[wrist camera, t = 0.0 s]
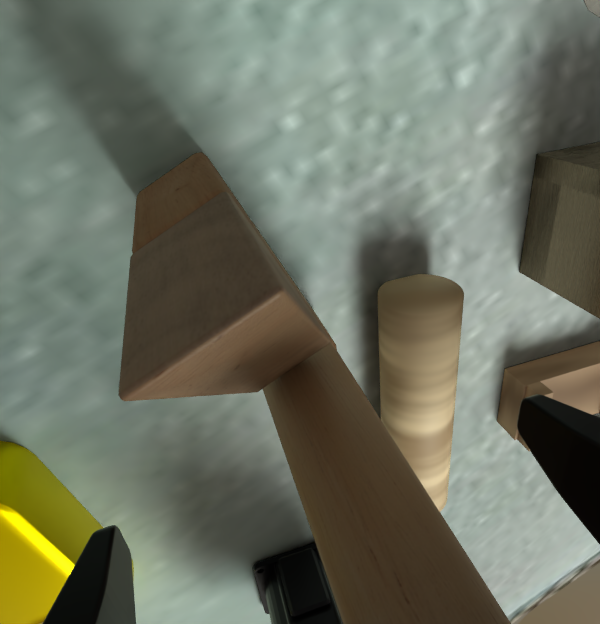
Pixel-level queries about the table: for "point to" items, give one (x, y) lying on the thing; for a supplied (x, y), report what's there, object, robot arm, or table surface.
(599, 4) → the french press
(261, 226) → the table surface
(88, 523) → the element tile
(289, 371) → the brown post stand
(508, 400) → the block
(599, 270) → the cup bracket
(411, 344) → the rod
